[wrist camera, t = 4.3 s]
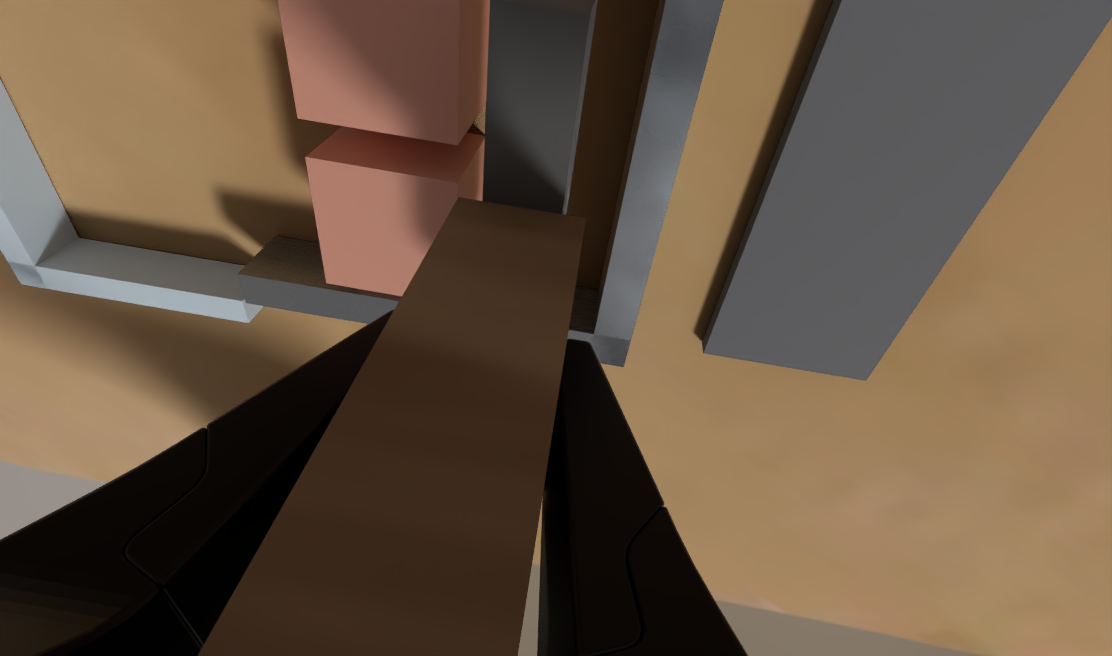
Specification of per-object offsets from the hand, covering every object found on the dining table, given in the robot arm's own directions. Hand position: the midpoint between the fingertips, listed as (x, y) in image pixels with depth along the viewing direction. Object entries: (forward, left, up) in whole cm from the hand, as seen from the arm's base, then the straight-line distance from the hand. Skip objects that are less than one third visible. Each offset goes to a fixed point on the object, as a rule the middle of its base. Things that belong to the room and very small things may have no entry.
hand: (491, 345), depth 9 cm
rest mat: (0, -9, -10) cm, 13 cm away
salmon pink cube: (-2, +4, -10) cm, 11 cm away
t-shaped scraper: (0, 0, -5) cm, 5 cm away
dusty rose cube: (+3, +4, -10) cm, 11 cm away
